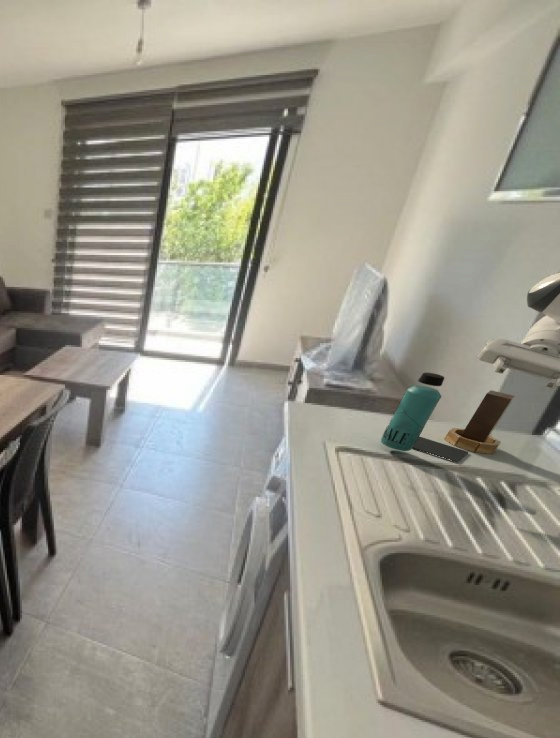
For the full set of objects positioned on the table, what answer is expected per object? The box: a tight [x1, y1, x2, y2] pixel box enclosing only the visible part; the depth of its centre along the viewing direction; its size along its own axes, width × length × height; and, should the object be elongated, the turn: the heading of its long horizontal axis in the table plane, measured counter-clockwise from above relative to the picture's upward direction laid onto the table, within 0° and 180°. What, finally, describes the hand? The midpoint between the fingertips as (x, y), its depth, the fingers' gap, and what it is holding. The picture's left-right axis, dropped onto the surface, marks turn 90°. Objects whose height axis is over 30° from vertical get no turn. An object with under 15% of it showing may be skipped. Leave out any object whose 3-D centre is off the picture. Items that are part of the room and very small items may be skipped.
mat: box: [412, 435, 469, 463], centre depth 121 cm, size 10×10×1 cm
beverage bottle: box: [380, 372, 445, 452], centre depth 114 cm, size 6×7×20 cm
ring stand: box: [444, 427, 502, 455], centre depth 124 cm, size 9×9×2 cm
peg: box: [461, 390, 516, 443], centre depth 121 cm, size 4×4×14 cm
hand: (525, 378), depth 118 cm, fingers open, 8 cm apart
